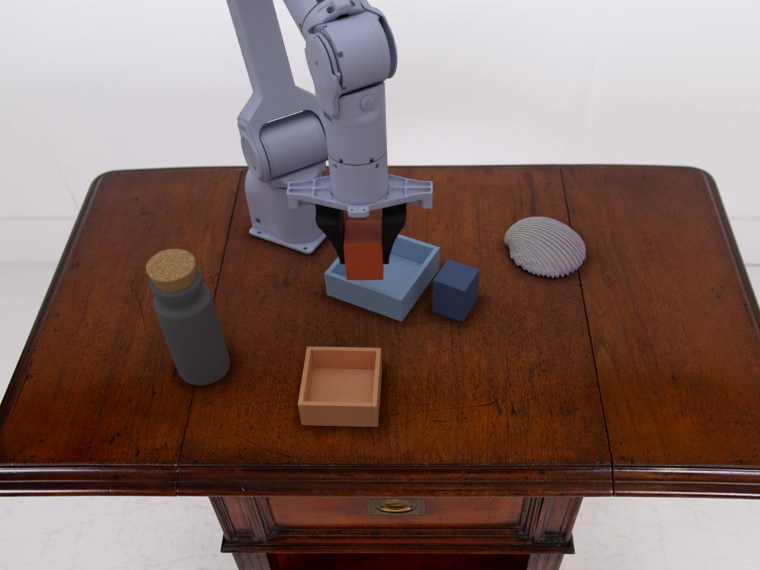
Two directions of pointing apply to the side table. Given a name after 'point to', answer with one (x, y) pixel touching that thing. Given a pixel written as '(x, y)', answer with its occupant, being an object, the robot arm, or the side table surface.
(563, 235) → the seashell
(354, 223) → the terracotta block
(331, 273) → the bin
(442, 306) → the slate block
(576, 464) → the side table surface
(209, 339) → the bottle
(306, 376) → the warm bin
